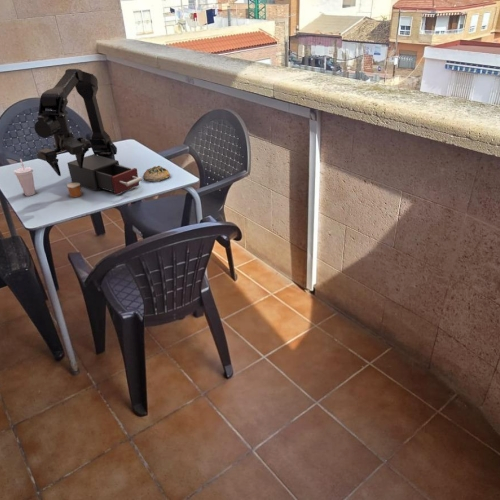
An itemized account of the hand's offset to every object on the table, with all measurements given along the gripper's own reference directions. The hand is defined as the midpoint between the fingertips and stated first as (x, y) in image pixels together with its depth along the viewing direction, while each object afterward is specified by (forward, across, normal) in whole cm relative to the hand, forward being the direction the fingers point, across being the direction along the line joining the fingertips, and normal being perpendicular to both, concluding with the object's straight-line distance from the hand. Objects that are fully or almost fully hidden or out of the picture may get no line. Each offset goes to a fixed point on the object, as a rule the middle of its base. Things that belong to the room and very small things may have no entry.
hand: (70, 171), depth 160 cm
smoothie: (+9, -9, +16) cm, 21 cm away
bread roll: (+9, +30, -13) cm, 34 cm away
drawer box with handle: (+9, +13, +4) cm, 16 cm away
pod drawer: (+8, +13, -10) cm, 18 cm away
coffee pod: (+9, 0, 0) cm, 9 cm away
